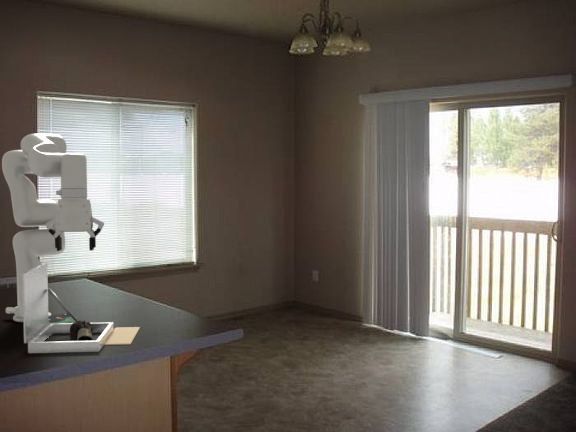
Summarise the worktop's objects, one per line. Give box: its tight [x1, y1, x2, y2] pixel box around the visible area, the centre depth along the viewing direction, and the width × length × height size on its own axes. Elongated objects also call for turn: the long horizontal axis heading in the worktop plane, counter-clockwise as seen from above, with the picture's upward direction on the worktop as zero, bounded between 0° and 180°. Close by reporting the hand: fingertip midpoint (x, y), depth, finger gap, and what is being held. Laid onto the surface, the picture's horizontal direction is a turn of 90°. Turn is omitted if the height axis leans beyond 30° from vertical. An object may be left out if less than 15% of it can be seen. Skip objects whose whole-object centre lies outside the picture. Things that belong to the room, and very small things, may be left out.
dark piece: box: [69, 319, 94, 341], centre depth 193 cm, size 18×7×6 cm, turn 19°
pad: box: [103, 326, 141, 346], centre depth 199 cm, size 8×20×1 cm, turn 5°
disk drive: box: [49, 312, 80, 324], centre depth 214 cm, size 10×3×15 cm
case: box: [22, 262, 115, 354], centre depth 192 cm, size 21×23×23 cm
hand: (75, 250), depth 191 cm, fingers open, 9 cm apart
